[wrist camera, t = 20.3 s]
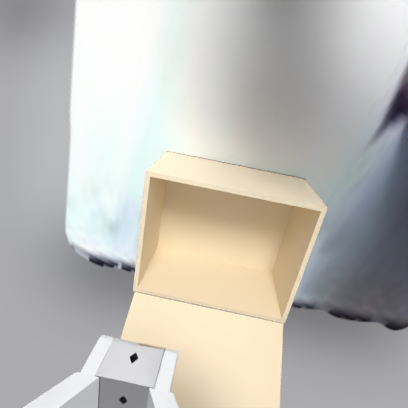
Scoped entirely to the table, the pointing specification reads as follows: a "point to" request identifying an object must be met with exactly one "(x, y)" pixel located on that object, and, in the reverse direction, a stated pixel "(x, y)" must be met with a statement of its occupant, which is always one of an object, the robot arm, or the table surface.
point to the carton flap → (212, 352)
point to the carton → (225, 235)
